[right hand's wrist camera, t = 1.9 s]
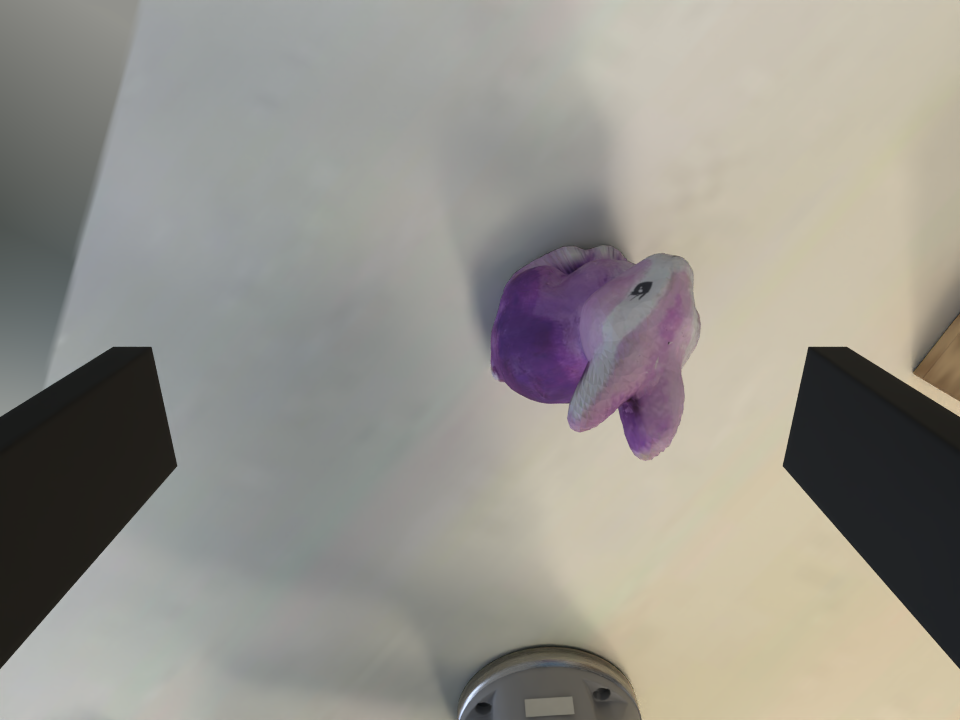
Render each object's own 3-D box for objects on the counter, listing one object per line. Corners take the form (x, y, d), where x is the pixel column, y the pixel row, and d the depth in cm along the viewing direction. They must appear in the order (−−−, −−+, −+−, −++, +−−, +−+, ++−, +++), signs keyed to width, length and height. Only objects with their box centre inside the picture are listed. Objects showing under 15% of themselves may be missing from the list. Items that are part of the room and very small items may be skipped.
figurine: (655, 222, 36) (767, 290, 22) (629, 379, 40) (710, 522, 26) (497, 213, 36) (508, 275, 22) (486, 371, 39) (489, 511, 26)
